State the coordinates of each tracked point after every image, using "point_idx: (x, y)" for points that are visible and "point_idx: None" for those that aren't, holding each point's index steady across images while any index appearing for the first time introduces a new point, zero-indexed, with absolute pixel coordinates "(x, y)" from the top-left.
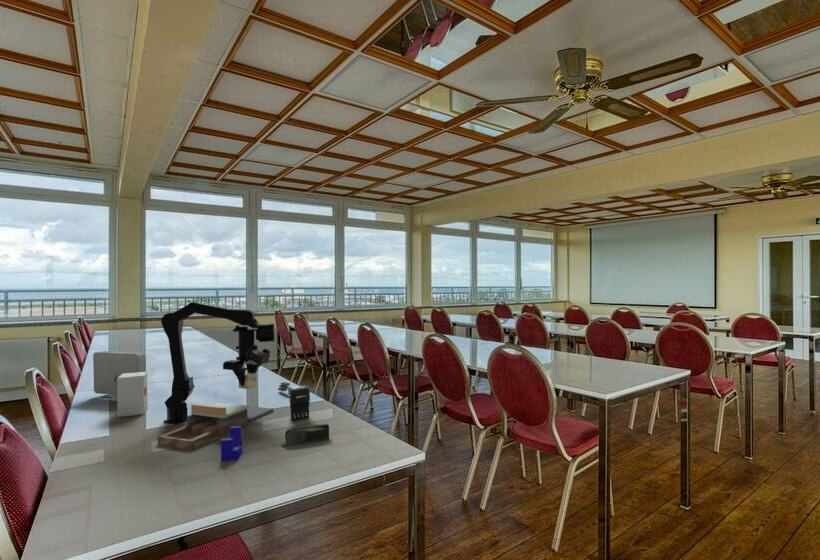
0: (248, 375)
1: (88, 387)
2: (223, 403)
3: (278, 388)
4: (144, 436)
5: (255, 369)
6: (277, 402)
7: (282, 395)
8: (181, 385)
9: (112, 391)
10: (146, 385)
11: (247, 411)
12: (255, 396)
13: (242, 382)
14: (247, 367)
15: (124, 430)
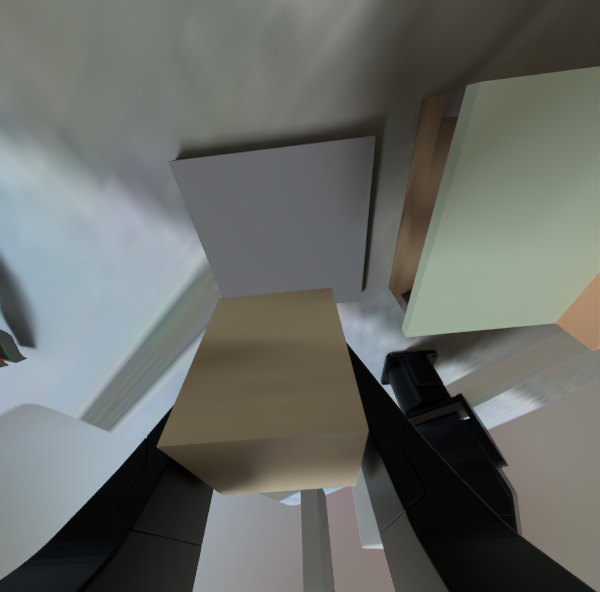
0: (355, 426)
1: (295, 504)
2: (422, 307)
3: (17, 361)
4: (535, 339)
5: (114, 532)
6: (86, 260)
7: (26, 313)
8: (509, 485)
9: (322, 493)
10: (369, 501)
11: (280, 253)
12: (132, 369)
13: (363, 370)
14: (189, 580)
15: (480, 390)
